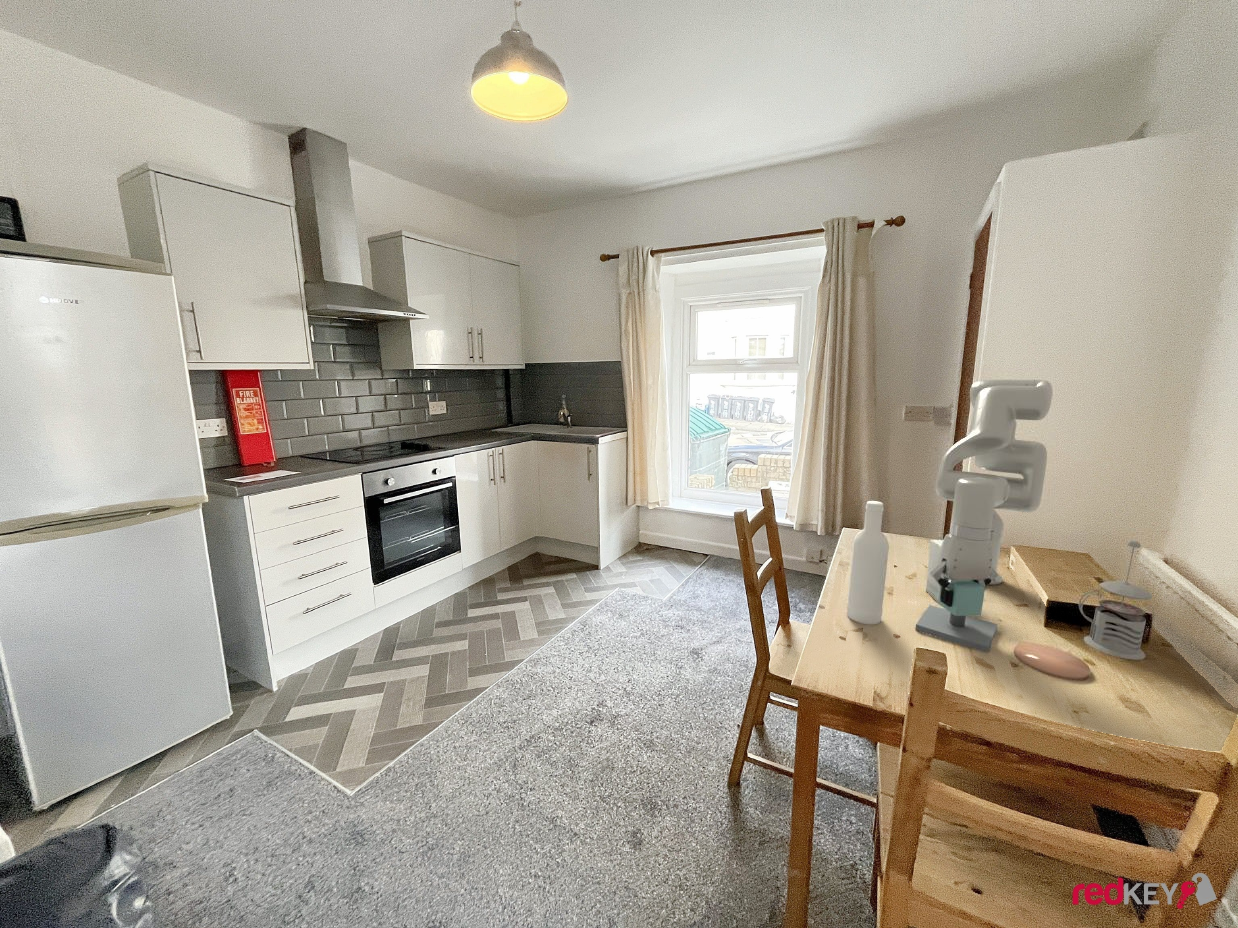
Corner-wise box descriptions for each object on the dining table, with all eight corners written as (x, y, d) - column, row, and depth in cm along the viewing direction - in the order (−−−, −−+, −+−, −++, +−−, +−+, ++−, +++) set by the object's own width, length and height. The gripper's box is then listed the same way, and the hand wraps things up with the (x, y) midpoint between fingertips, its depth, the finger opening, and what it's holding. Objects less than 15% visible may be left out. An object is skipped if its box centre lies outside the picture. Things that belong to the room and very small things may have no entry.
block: (962, 603, 116) (965, 576, 115) (980, 615, 110) (985, 587, 109) (938, 603, 116) (941, 576, 115) (955, 615, 110) (959, 587, 109)
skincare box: (963, 605, 126) (971, 550, 124) (936, 603, 128) (943, 548, 125) (949, 592, 134) (956, 539, 132) (923, 590, 136) (929, 538, 133)
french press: (1153, 664, 100) (1178, 552, 96) (1079, 648, 106) (1099, 542, 102) (1136, 643, 109) (1158, 538, 104) (1068, 629, 115) (1086, 530, 110)
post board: (929, 610, 124) (933, 575, 122) (996, 629, 114) (1002, 592, 113) (915, 630, 114) (919, 593, 112) (987, 653, 104) (994, 613, 103)
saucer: (1016, 640, 109) (1017, 636, 109) (1089, 662, 101) (1090, 658, 101) (1010, 662, 101) (1011, 658, 101) (1089, 688, 93) (1090, 683, 93)
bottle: (880, 613, 122) (892, 500, 117) (882, 627, 115) (895, 508, 110) (845, 607, 125) (856, 497, 120) (846, 620, 118) (857, 504, 113)
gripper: (993, 526, 114) (983, 596, 117) (922, 526, 113) (914, 597, 117) (1020, 536, 106) (1008, 611, 110) (944, 537, 106) (934, 611, 109)
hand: (959, 603), depth 113 cm, fingers closed on block, 5 cm apart
